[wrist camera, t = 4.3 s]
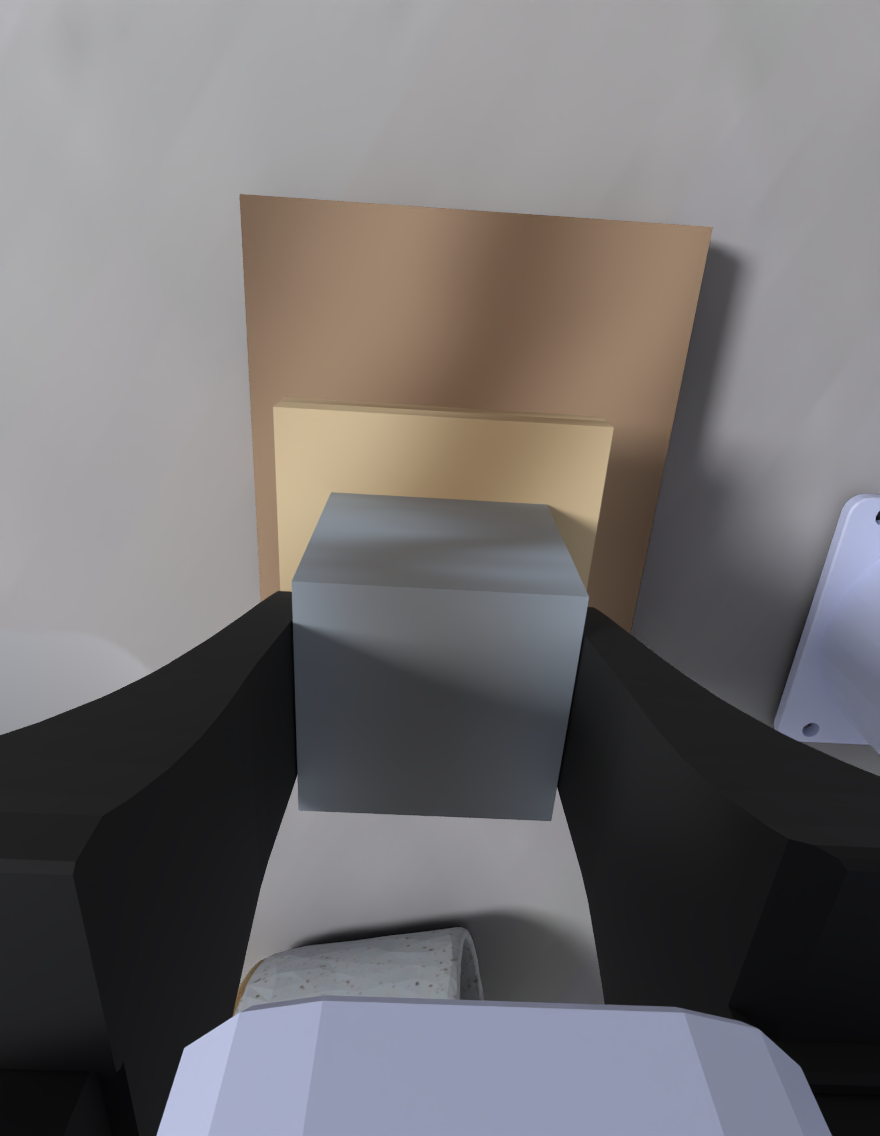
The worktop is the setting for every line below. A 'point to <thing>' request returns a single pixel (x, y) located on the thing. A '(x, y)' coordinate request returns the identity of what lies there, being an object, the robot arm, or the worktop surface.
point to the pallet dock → (476, 337)
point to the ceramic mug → (369, 970)
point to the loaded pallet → (435, 600)
